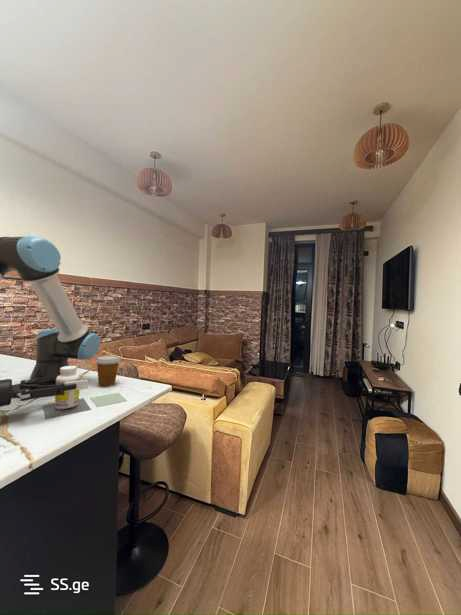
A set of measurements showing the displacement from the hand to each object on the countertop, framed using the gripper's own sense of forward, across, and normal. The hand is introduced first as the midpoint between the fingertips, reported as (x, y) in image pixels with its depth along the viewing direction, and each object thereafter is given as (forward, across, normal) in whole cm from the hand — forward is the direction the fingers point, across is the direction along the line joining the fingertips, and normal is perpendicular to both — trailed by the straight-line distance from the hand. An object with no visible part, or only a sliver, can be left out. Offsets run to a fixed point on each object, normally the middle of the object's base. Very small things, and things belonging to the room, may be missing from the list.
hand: (85, 381), depth 84 cm
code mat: (-5, 0, -8) cm, 10 cm away
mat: (+8, 0, -8) cm, 11 cm away
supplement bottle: (-5, 0, -8) cm, 9 cm away
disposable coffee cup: (+12, -18, -8) cm, 23 cm away
